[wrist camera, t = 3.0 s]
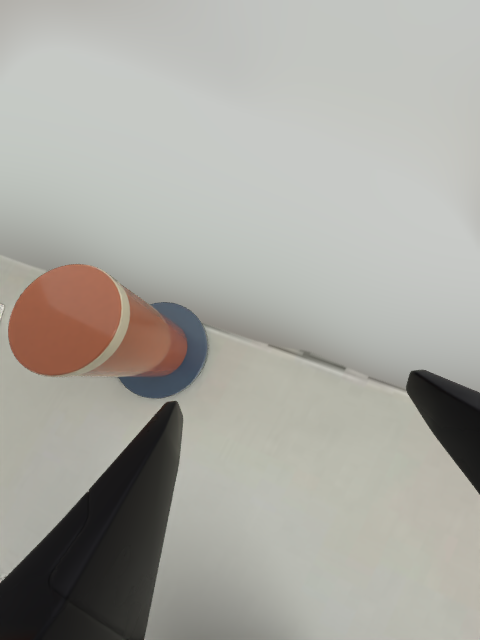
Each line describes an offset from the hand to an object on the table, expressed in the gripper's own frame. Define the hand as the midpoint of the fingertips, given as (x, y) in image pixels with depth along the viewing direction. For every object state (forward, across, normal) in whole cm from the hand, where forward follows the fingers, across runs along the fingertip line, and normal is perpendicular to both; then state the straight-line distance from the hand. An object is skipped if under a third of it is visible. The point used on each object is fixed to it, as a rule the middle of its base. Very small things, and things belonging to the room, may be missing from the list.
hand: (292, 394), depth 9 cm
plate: (+14, +11, +6) cm, 18 cm away
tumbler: (+13, +11, +5) cm, 18 cm away
